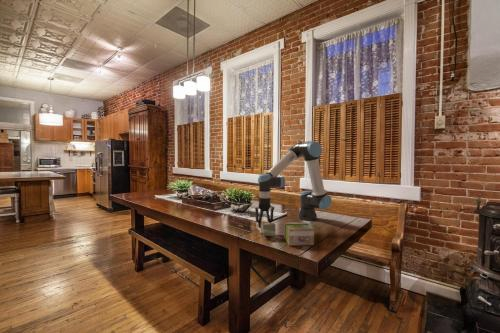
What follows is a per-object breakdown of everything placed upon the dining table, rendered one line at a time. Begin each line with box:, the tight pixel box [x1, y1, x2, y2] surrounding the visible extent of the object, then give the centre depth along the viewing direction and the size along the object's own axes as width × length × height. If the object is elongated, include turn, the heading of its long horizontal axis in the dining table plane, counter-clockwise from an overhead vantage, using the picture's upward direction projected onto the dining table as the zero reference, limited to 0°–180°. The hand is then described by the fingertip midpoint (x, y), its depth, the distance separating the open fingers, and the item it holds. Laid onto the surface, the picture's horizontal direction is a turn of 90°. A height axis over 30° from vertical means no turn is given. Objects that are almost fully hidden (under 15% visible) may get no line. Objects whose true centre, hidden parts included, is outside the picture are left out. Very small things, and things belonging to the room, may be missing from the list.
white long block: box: [255, 217, 277, 237], centre depth 167 cm, size 24×8×7 cm, turn 14°
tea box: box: [283, 222, 315, 247], centre depth 151 cm, size 15×10×15 cm
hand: (264, 232), depth 167 cm, fingers closed on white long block, 4 cm apart
